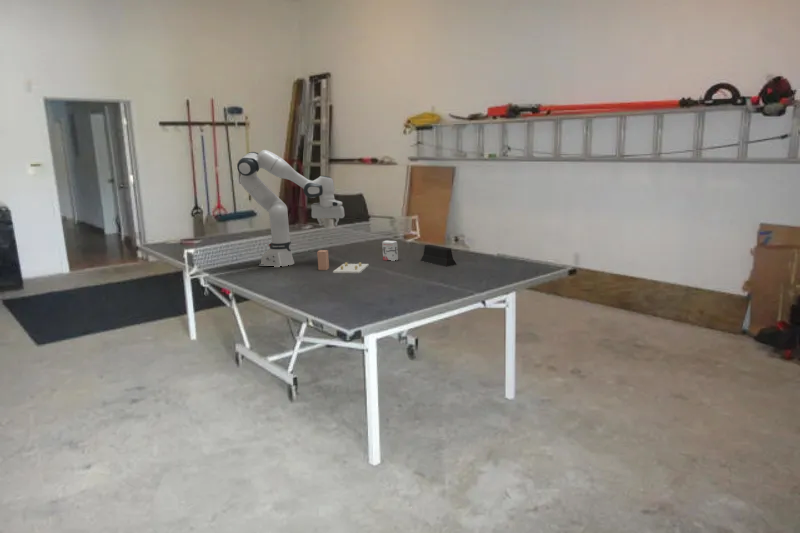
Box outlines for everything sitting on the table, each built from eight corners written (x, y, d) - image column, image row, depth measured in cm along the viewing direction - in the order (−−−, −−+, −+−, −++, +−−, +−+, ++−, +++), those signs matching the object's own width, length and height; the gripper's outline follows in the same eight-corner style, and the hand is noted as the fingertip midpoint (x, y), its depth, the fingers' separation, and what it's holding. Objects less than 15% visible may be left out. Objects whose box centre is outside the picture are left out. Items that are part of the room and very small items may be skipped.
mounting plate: (333, 273, 327) (332, 267, 326) (343, 265, 346) (343, 260, 345) (359, 273, 324) (359, 268, 323) (368, 265, 343) (368, 260, 342)
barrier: (456, 264, 337) (456, 248, 334) (446, 267, 331) (445, 250, 329) (430, 259, 355) (430, 243, 353) (420, 261, 350) (419, 245, 347)
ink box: (382, 260, 356) (381, 241, 353) (386, 258, 360) (385, 240, 358) (394, 261, 352) (393, 242, 349) (398, 259, 356) (397, 241, 354)
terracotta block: (318, 270, 336) (317, 251, 334) (321, 268, 341) (320, 250, 339) (326, 270, 335) (325, 251, 333) (329, 268, 340) (328, 250, 338)
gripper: (309, 203, 343) (310, 226, 345) (341, 203, 338) (342, 226, 341) (312, 202, 349) (314, 224, 351) (344, 202, 344) (345, 224, 347)
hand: (328, 225), depth 346 cm, fingers open, 8 cm apart
